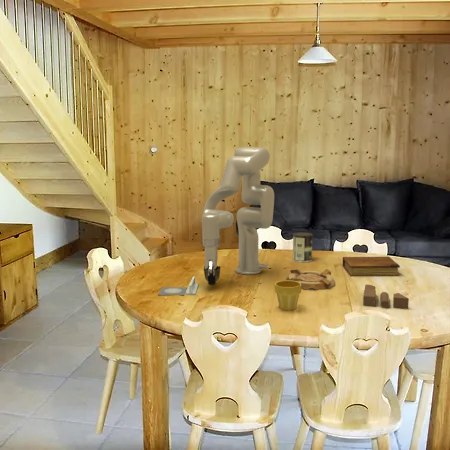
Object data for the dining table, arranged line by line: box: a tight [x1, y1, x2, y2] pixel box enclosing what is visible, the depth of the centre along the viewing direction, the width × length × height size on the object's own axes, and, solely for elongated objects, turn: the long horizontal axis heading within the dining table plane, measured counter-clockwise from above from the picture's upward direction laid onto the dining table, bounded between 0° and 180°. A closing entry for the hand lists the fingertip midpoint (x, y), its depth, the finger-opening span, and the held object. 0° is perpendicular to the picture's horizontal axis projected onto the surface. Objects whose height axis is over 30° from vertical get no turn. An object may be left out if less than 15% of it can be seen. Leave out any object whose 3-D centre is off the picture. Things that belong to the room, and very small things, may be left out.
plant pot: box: [274, 280, 302, 311], centre depth 216 cm, size 10×10×10 cm
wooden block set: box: [362, 284, 410, 310], centre depth 223 cm, size 17×6×18 cm
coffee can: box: [292, 231, 314, 263], centre depth 290 cm, size 10×10×14 cm
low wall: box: [185, 276, 199, 296], centre depth 240 cm, size 4×14×4 cm, turn 177°
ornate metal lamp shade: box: [203, 265, 221, 286], centre depth 242 cm, size 8×7×8 cm
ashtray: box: [286, 268, 336, 291], centre depth 250 cm, size 24×24×5 cm
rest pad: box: [157, 286, 188, 297], centre depth 238 cm, size 11×11×1 cm
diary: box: [341, 256, 401, 277], centre depth 269 cm, size 23×19×6 cm
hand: (212, 281), depth 243 cm, fingers closed on ornate metal lamp shade, 6 cm apart
